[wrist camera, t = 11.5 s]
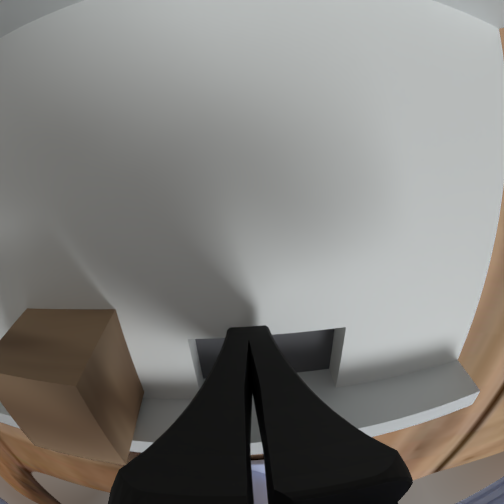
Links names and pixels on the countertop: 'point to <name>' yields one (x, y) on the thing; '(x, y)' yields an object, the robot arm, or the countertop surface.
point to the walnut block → (71, 382)
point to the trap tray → (258, 188)
